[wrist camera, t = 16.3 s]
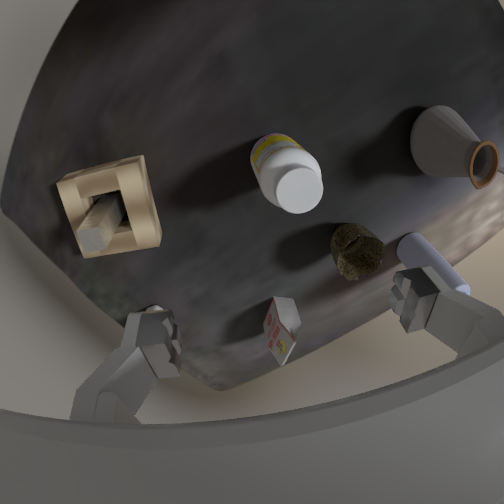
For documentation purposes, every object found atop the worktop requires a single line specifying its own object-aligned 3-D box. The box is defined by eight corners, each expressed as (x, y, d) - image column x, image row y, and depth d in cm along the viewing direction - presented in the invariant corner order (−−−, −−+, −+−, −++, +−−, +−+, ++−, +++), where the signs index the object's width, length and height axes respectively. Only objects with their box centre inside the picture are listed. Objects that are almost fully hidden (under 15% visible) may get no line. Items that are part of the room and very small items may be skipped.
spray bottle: (390, 257, 51) (455, 348, 32) (404, 228, 48) (481, 315, 29) (413, 261, 52) (477, 345, 34) (427, 234, 49) (500, 314, 31)
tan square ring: (66, 174, 36) (56, 183, 33) (143, 154, 36) (137, 162, 33) (91, 245, 42) (84, 258, 39) (162, 233, 43) (159, 246, 40)
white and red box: (293, 298, 53) (307, 341, 45) (281, 324, 56) (292, 367, 48) (273, 296, 52) (284, 340, 44) (262, 323, 56) (271, 366, 47)
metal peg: (101, 196, 38) (75, 231, 30) (120, 192, 39) (97, 226, 30) (107, 215, 40) (84, 253, 32) (125, 211, 40) (106, 249, 32)
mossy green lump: (321, 255, 48) (338, 286, 42) (317, 215, 44) (336, 244, 38) (363, 245, 48) (384, 273, 42) (362, 205, 44) (387, 231, 38)
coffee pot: (393, 163, 41) (455, 206, 28) (409, 92, 35) (482, 113, 22) (476, 185, 44) (530, 224, 32) (492, 130, 38) (552, 159, 26)
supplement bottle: (299, 177, 41) (331, 220, 30) (251, 182, 40) (267, 227, 30) (298, 130, 37) (334, 156, 26) (247, 134, 37) (263, 161, 26)
